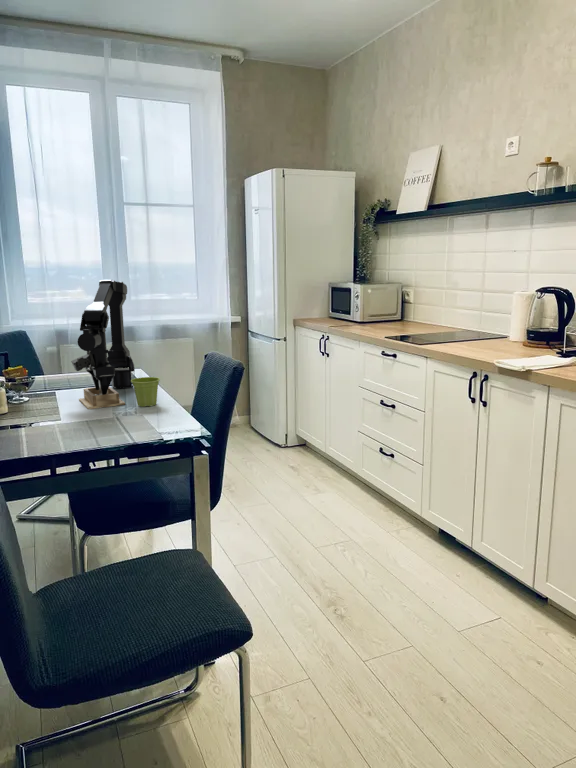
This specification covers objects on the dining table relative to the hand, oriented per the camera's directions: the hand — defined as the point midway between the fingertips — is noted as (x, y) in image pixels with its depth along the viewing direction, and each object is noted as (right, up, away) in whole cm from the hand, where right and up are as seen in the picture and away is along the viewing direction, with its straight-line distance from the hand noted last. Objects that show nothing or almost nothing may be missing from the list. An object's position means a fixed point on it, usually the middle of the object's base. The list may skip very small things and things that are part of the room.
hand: (100, 392), depth 199 cm
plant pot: (+16, -4, -4) cm, 17 cm away
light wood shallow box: (0, -3, +1) cm, 4 cm away
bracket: (0, -3, +1) cm, 3 cm away
